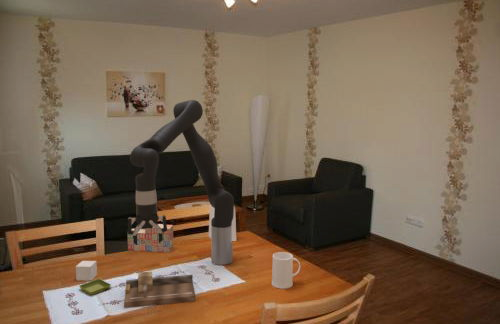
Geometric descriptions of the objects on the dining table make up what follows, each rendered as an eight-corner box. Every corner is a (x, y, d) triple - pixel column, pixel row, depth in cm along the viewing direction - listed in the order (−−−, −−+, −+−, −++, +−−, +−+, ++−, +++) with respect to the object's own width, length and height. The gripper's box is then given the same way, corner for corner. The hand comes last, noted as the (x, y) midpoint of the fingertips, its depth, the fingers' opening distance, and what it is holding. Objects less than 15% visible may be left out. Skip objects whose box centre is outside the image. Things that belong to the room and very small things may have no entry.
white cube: (83, 274, 167) (82, 260, 167) (97, 274, 167) (96, 261, 166) (76, 280, 161) (75, 266, 161) (91, 280, 161) (90, 266, 160)
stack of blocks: (127, 250, 195) (126, 226, 193) (132, 246, 201) (131, 222, 199) (169, 252, 193) (169, 228, 191) (173, 248, 199) (173, 224, 197)
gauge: (152, 286, 152) (152, 271, 152) (152, 297, 144) (151, 281, 143) (139, 287, 151) (138, 272, 151) (137, 298, 143) (137, 282, 142)
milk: (208, 237, 216) (208, 190, 212) (228, 234, 220) (228, 188, 217) (215, 244, 205) (215, 194, 201) (236, 241, 209) (236, 193, 206)
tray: (192, 285, 158) (192, 274, 157) (195, 300, 146) (195, 289, 145) (126, 291, 153) (126, 279, 152) (123, 307, 140) (123, 295, 139)
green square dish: (99, 283, 160) (99, 278, 160) (111, 289, 155) (111, 284, 154) (78, 290, 153) (78, 285, 153) (91, 297, 148) (90, 292, 148)
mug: (297, 278, 165) (298, 251, 164) (303, 287, 157) (304, 258, 155) (269, 280, 164) (270, 252, 162) (273, 289, 155) (274, 260, 154)
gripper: (165, 198, 153) (167, 238, 156) (126, 200, 150) (129, 241, 152) (166, 202, 146) (167, 245, 148) (125, 205, 142) (128, 248, 145)
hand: (148, 243), depth 150 cm, fingers open, 8 cm apart
